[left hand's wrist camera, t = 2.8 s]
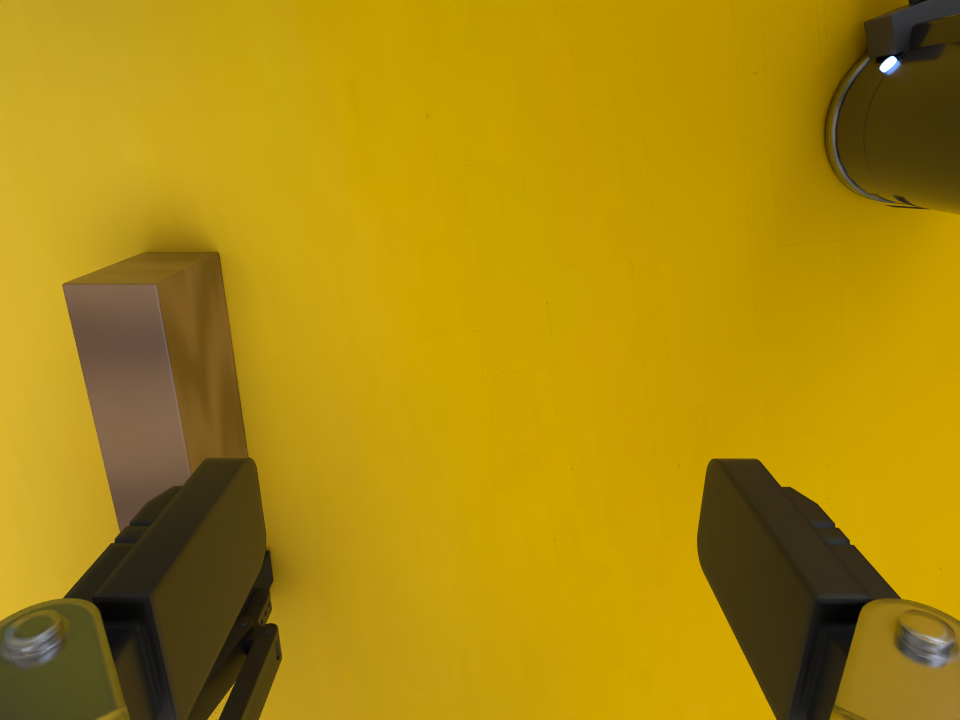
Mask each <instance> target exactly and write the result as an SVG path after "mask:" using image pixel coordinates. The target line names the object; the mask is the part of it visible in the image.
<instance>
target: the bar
mask: <svg viewBox="0 0 960 720" xmlns="http://www.w3.org/2000/svg"><path fill="white" fill-rule="evenodd" d="M62 286H63V290H64V295H65V299H66V303H67V308H68V312H69V316H70V320H71V325H72V329H73V333H74V337H75V342H76V346H77V350H78V354H79V359H80V363H81V367H82V372H83V376H84V380H85V384H86V389H87V393H88V397H89V401H90V406H91V410H92V414H93V418H94V423H95V427H96V431H97V435H98V440H99V444H100V448H101V453H102V457H103V461H104V465H105V470H106V474H107V478H108V482H109V487H110V491H111V495H112V499H113V504H114V508H115V512H116V517H117V521H118V525H119V529H120V533H121V532H122V530H123V529H124V528H125V527H126V526H129V524H130V523H129V522H130V521H131V520H132V519H133V518H134V517H135V516H136V514H137V513H138V512H139V511H140V510H141V509H142V508H143V506H144V505H145V504H146V503H147V502H149V501H150V500H152V499H153V498H155V497H157V496H158V495H160V494H161V493H163V492H165V491H166V490H168V489H169V488H171V487H173V486H183V485H184V484H185V482H186V481H187V480H188V479H189V478H190V476H191V475H192V474H193V473H194V471H195V470H196V469H197V468H198V467H199V465H200V464H201V463H202V462H203V461H204V460H205V459H206V458H248V453H247V446H246V439H245V432H244V425H243V418H242V411H241V404H240V397H239V390H238V383H237V376H236V369H235V363H234V356H233V349H232V342H231V335H230V328H229V321H228V314H227V307H226V300H225V293H224V286H223V279H222V272H221V265H220V258H219V253H141V254H139V255H136V256H134V257H131V258H128V259H126V260H123V261H121V262H118V263H115V264H113V265H110V266H108V267H105V268H102V269H100V270H97V271H95V272H92V273H89V274H87V275H84V276H82V277H79V278H77V279H74V280H71V281H69V282H66V283H64V284H62Z"/></svg>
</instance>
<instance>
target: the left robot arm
mask: <svg viewBox="0 0 960 720" xmlns="http://www.w3.org/2000/svg"><path fill="white" fill-rule="evenodd" d="M908 1H909V5H906V6H904V7H901V8H899V9H896V10H893V11H891V12H888V13H886V14H883V15H881V16H878V17H876V18H873V19H871V20H868V21H865V22H864V27H865V33H866V40H867V50H866V53H865V55H864V56H863V57H862V58H861V59H860V60H859V61H858V62H857V63H856V64H855V65H854V66H853V67H852V69H851V70H850V71H849V72H848V74H847V75H846V76H845V78H844V79H843V81H842V82H841V84H840V86H839V87H838V89H837V91H836V93H835V95H834V98H833V100H832V103H831V106H830V109H829V112H828V117H827V122H826V133H825V139H826V149H827V154H828V157H829V161H830V163H831V166H832V168H833V170H834V172H835V173H836V175H837V176H838V178H839V179H840V180H841V181H842V182H843V184H845V185H846V186H847V187H848V188H849V189H850V190H852V191H853V192H855V193H857V194H859V195H860V196H863V197H865V198H868V199H872V200H876V201H881V202H887V203H897V204H903V205H911V206H916V207H906V206H891V205H886V206H891V207H900V208H916V209H931V210H937V211H943V212H948V213H953V214H958V215H960V0H908ZM129 523H130V524H129V526H126V527H125V528H124V529H123V530H122V532H121V533H120V534H119V535H118V536H117V537H116V538H115V543H111V544H110V545H109V546H108V547H107V549H106V550H105V551H104V552H103V553H102V554H101V555H100V557H99V558H98V559H97V560H96V561H95V562H94V563H93V565H92V566H91V567H90V568H89V569H88V570H87V571H86V573H85V574H84V575H83V576H82V577H81V578H80V579H79V581H78V582H77V583H76V584H75V585H74V586H73V587H72V589H71V590H70V591H69V592H68V593H67V594H66V595H65V596H64V598H63V599H56V600H51V601H46V602H42V603H39V604H36V605H33V606H30V607H28V608H25V609H23V610H20V611H18V612H16V613H14V614H12V615H10V616H8V617H7V618H5V619H3V620H2V621H0V720H187V718H188V716H189V714H190V712H191V710H192V708H193V706H194V704H195V702H196V700H197V698H198V696H199V694H200V692H201V690H202V688H203V686H204V684H205V682H206V680H207V678H208V676H209V674H210V671H211V669H212V667H213V665H214V663H215V661H216V659H217V657H218V655H219V653H220V651H221V649H222V647H223V645H224V643H225V641H226V639H227V637H228V635H229V633H230V631H231V629H232V627H233V625H234V623H235V621H236V619H237V617H238V614H239V612H240V610H241V608H242V606H243V604H244V602H245V600H246V598H247V596H248V594H249V592H250V590H251V588H252V586H253V584H254V582H255V580H256V578H257V576H258V574H259V572H260V570H261V567H262V564H263V560H264V556H265V549H266V530H265V523H264V516H263V509H262V502H261V494H260V487H259V480H258V473H257V468H256V464H255V462H254V460H253V459H252V458H206V459H205V460H204V461H203V462H202V463H201V464H200V465H199V467H198V468H197V469H196V470H195V471H194V473H193V474H192V475H191V476H190V478H189V479H188V480H187V481H186V482H185V484H184V485H183V486H173V487H171V488H169V489H168V490H166V491H165V492H163V493H161V494H160V495H158V496H157V497H155V498H153V499H152V500H150V501H149V502H147V503H146V504H145V505H144V506H143V508H142V509H141V510H140V511H139V512H138V513H137V514H136V516H135V517H134V518H133V519H132V520H131V521H130V522H129ZM697 548H698V556H699V561H700V564H701V567H702V570H703V572H704V574H705V576H706V578H707V580H708V582H709V584H710V586H711V588H712V590H713V592H714V594H715V596H716V598H717V600H718V603H719V605H720V607H721V609H722V611H723V613H724V615H725V617H726V619H727V621H728V623H729V625H730V627H731V629H732V631H733V633H734V635H735V637H736V639H737V641H738V643H739V645H740V647H741V649H742V651H743V653H744V655H745V657H746V659H747V661H748V663H749V665H750V667H751V669H752V671H753V673H754V675H755V677H756V679H757V681H758V683H759V685H760V687H761V689H762V691H763V693H764V695H765V697H766V699H767V701H768V703H769V705H770V707H771V709H772V711H773V713H774V715H775V717H776V719H777V720H960V621H958V620H957V619H955V618H953V617H952V616H950V615H948V614H946V613H944V612H942V611H940V610H937V609H935V608H932V607H930V606H927V605H924V604H921V603H918V602H914V601H909V600H904V599H901V598H900V597H899V596H898V594H897V593H896V592H895V591H894V590H893V589H892V588H891V587H890V585H889V584H888V583H887V582H886V581H885V580H884V579H883V578H882V576H881V575H880V574H879V573H878V572H877V571H876V570H875V569H874V567H873V566H872V565H871V564H870V563H869V562H868V561H867V559H866V558H865V557H864V556H863V555H862V554H861V553H860V552H859V550H858V549H857V548H856V547H855V546H854V545H850V540H849V539H848V538H847V537H846V536H845V535H844V533H843V532H842V531H841V530H840V529H839V528H835V523H834V522H833V521H832V520H831V519H830V518H829V517H828V515H827V514H826V513H825V512H824V511H823V510H822V509H821V508H820V506H819V505H818V504H817V503H815V502H813V501H812V500H810V499H809V498H807V497H805V496H804V495H802V494H801V493H799V492H797V491H796V490H794V489H793V488H791V487H781V486H780V485H779V484H778V482H777V481H776V480H775V479H774V477H773V476H772V475H771V474H770V473H769V471H768V470H767V469H766V468H765V467H764V465H763V464H762V463H761V462H760V461H759V460H757V459H712V460H711V461H710V462H709V464H708V467H707V471H706V477H705V484H704V491H703V498H702V505H701V512H700V519H699V526H698V534H697Z"/></svg>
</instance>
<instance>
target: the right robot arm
mask: <svg viewBox="0 0 960 720" xmlns="http://www.w3.org/2000/svg"><path fill="white" fill-rule="evenodd" d="M272 582H273V574H272V567H271V560H270V552H269V551H265V556H264V560H263V564H262V567H261V570H260V572H259V574H258V576H257V578H256V580H255V582H254V584H253V586H252V588H251V590H250V592H249V594H248V596H247V598H246V600H245V602H244V604H243V606H242V608H241V610H240V612H239V614H238V617H237V619H236V621H235V623H234V625H233V627H232V629H231V631H230V633H229V635H228V637H227V639H226V641H225V643H224V645H223V647H222V649H221V651H220V653H219V655H218V657H217V659H216V661H215V663H214V665H213V667H212V669H211V671H210V674H209V676H208V678H207V680H206V682H205V684H204V686H203V688H202V690H201V692H200V694H199V696H198V698H197V700H196V702H195V704H194V706H193V708H192V710H191V712H190V714H189V716H188V718H187V720H207V719H208V718H209V716H210V715H211V714H212V712H213V711H214V710H215V708H216V707H217V706H218V704H219V703H220V702H221V700H222V699H223V698H224V696H225V695H226V693H227V692H228V691H229V689H230V688H231V687H232V685H233V684H234V683H235V684H234V687H233V689H232V691H231V693H230V696H229V698H228V700H227V702H226V705H225V707H224V709H223V711H222V714H221V716H220V718H219V720H259V718H260V715H261V712H262V710H263V707H264V704H265V702H266V699H267V697H268V694H269V691H270V689H271V686H272V683H273V681H274V678H275V675H276V673H277V670H278V668H279V665H280V662H281V660H282V653H281V646H280V639H279V632H278V627H277V625H276V624H272V623H269V624H266V622H267V619H268V618H269V615H270V613H271V611H272V606H271V599H270V592H269V589H270V587H271V584H272ZM235 681H236V682H235Z"/></svg>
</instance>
